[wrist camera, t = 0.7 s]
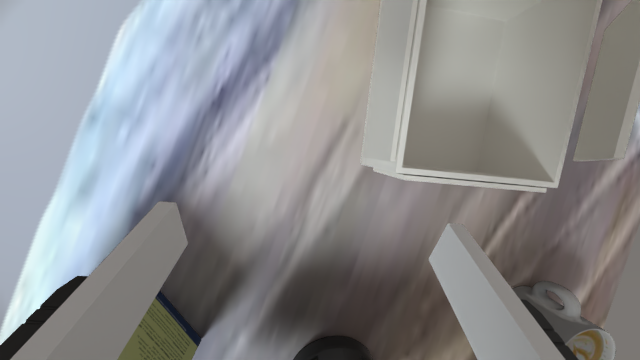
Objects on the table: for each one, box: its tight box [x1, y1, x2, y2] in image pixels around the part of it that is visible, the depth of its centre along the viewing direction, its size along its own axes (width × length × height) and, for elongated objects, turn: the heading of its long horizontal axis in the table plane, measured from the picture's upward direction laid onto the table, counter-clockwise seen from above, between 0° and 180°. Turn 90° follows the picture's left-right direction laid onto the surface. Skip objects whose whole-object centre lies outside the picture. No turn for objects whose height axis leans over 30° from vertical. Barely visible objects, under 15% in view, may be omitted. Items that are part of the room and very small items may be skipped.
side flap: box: [573, 0, 640, 161], centre depth 20 cm, size 13×1×9 cm
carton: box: [360, 0, 602, 193], centre depth 29 cm, size 24×20×12 cm
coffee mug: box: [512, 281, 616, 360], centre depth 37 cm, size 13×10×10 cm
